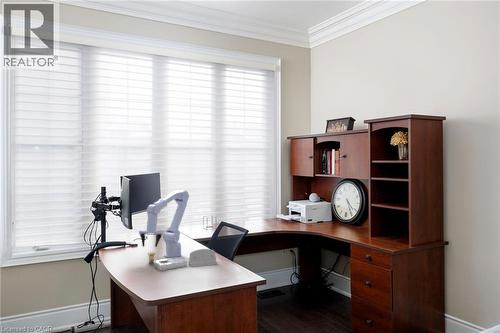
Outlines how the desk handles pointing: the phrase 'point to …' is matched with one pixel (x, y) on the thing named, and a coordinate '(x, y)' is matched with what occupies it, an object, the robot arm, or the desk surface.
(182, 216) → the robot arm
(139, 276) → the desk surface
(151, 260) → the bushing
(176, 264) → the jig
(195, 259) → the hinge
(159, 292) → the desk surface
